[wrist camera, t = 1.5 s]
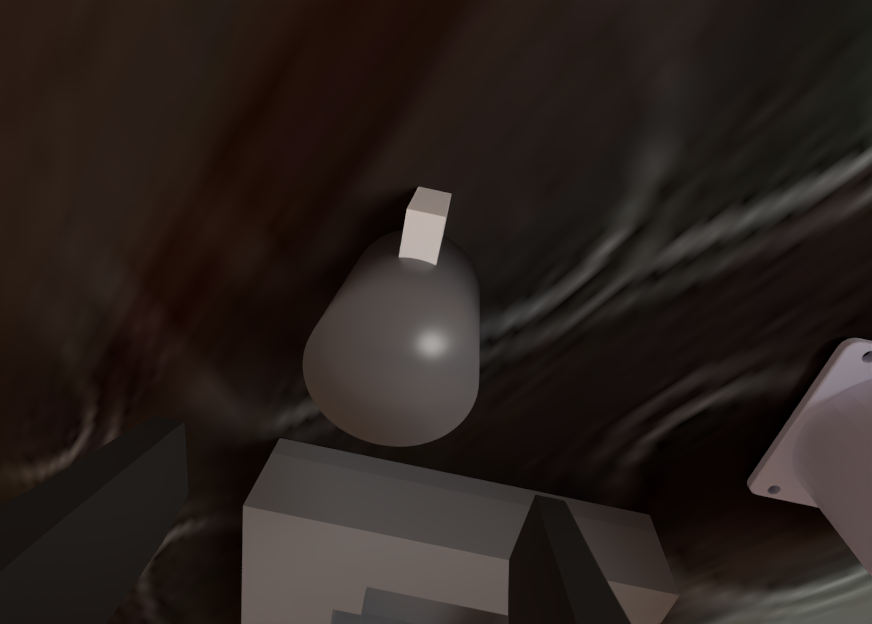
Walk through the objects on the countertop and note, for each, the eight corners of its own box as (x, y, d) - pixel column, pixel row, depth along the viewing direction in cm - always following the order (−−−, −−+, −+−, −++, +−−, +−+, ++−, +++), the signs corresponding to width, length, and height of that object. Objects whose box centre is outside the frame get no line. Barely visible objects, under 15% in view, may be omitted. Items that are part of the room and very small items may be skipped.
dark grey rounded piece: (464, 357, 20) (458, 461, 15) (346, 332, 20) (297, 427, 15) (504, 205, 17) (514, 267, 12) (365, 175, 17) (313, 224, 12)
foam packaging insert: (649, 514, 23) (679, 595, 20) (559, 671, 30) (570, 753, 26) (279, 438, 23) (243, 505, 20) (269, 612, 29) (240, 686, 26)
